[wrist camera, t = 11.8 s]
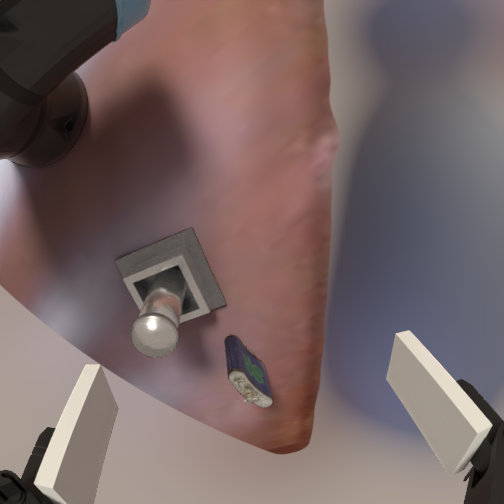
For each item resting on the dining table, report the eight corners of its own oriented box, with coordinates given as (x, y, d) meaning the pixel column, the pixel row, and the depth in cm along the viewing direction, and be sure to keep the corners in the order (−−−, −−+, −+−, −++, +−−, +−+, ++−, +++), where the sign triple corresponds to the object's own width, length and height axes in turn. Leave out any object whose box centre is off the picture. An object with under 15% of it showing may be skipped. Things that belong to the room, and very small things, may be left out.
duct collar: (116, 259, 43) (105, 272, 38) (192, 226, 43) (189, 236, 38) (153, 327, 47) (148, 345, 42) (226, 301, 47) (227, 318, 42)
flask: (267, 366, 51) (278, 411, 41) (253, 375, 52) (261, 421, 41) (233, 331, 48) (238, 376, 38) (218, 340, 49) (220, 386, 39)
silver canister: (156, 300, 44) (137, 360, 31) (149, 268, 43) (124, 321, 30) (190, 297, 45) (182, 357, 32) (184, 264, 43) (172, 317, 30)
